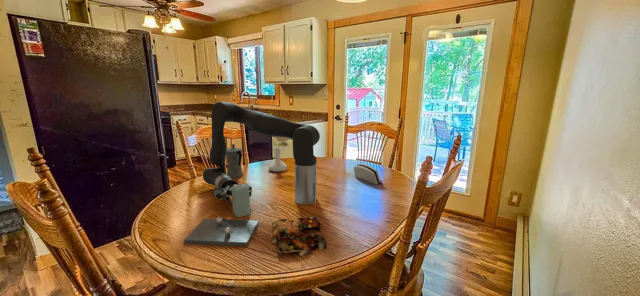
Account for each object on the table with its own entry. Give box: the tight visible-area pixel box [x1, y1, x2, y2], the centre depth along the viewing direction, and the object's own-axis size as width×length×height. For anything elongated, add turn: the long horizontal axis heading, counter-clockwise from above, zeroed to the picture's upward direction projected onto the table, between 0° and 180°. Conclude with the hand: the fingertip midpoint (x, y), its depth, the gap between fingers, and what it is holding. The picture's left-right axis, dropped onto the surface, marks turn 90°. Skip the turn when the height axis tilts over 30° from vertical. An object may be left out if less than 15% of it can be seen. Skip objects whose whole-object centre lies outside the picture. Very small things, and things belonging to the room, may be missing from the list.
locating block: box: [231, 183, 251, 218], centre depth 103 cm, size 5×5×11 cm
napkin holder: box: [353, 163, 383, 185], centre depth 145 cm, size 17×5×10 cm, turn 35°
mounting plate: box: [183, 216, 260, 248], centre depth 90 cm, size 20×14×4 cm
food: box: [269, 215, 328, 256], centre depth 89 cm, size 22×19×4 cm
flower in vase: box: [268, 136, 289, 172], centre depth 157 cm, size 13×11×25 cm
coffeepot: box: [225, 143, 244, 179], centre depth 146 cm, size 15×9×18 cm, turn 43°
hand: (239, 197), depth 104 cm, fingers open, 8 cm apart
